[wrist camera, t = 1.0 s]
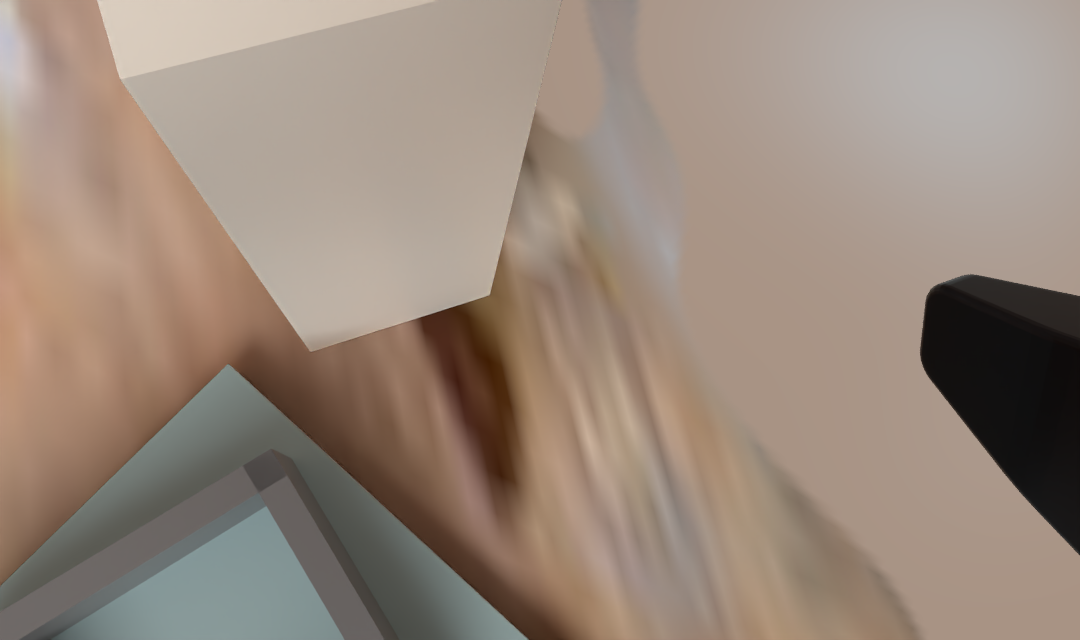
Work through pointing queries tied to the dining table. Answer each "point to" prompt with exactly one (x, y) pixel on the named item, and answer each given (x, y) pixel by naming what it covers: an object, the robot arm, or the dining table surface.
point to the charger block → (346, 140)
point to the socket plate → (239, 546)
